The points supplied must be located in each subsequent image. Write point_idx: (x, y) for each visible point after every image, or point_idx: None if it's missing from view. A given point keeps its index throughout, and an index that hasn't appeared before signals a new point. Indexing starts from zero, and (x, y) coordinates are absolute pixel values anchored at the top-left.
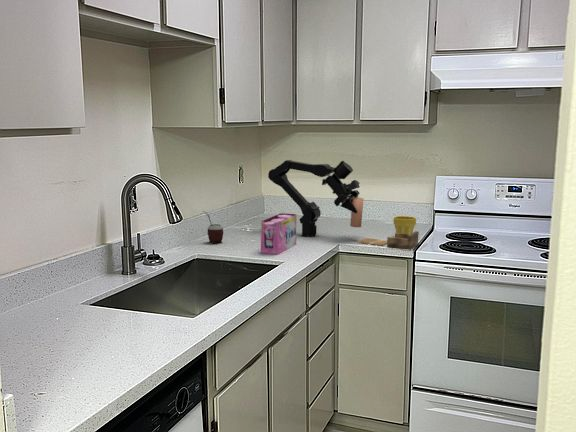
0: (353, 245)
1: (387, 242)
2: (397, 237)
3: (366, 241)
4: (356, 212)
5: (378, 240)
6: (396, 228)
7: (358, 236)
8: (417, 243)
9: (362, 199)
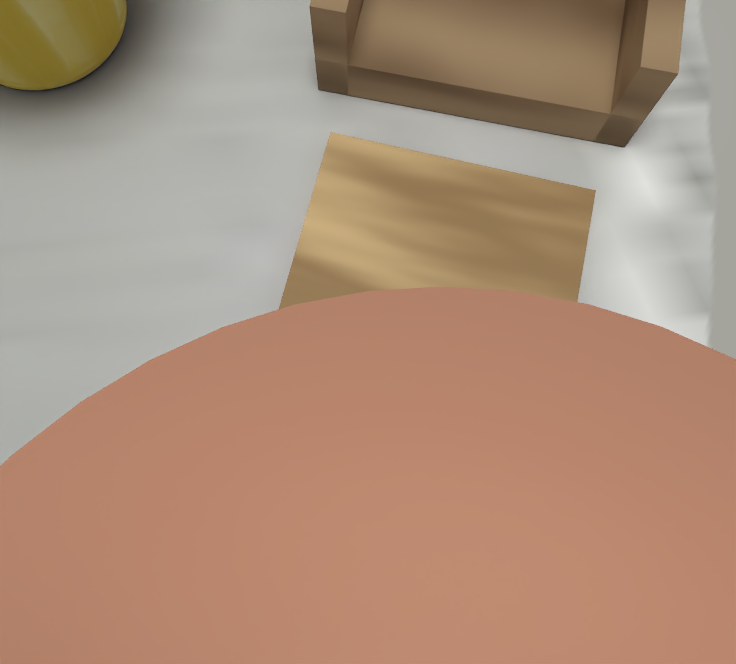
0: None
1: (648, 111)
2: (355, 21)
3: None
4: None
5: (355, 263)
6: (36, 8)
7: None
8: None
9: (685, 364)
